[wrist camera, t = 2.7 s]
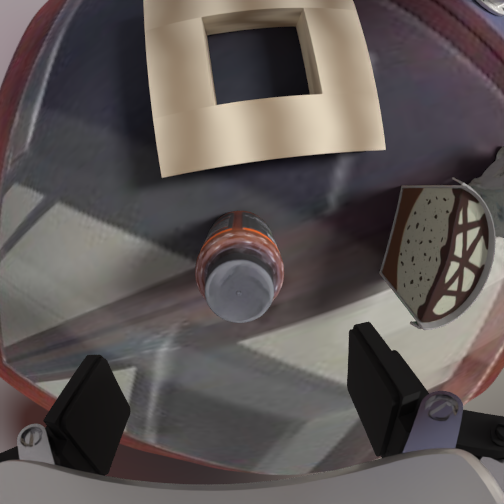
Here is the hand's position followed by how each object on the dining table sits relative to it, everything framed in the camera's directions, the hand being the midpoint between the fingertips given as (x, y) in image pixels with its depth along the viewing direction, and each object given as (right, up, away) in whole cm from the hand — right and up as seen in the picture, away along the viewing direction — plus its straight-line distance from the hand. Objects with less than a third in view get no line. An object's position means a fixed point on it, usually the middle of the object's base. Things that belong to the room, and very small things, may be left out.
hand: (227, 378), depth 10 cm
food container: (+18, +6, +18) cm, 26 cm away
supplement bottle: (0, +6, +17) cm, 18 cm away
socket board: (+1, +21, +13) cm, 25 cm away
